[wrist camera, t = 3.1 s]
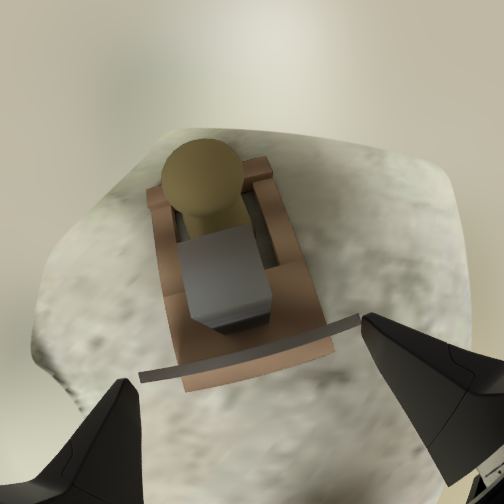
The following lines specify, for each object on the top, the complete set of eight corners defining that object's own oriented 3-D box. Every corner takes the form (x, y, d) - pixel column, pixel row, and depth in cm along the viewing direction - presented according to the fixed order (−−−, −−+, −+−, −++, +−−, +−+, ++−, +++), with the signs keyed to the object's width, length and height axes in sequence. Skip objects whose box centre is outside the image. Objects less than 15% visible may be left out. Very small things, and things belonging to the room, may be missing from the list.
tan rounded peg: (206, 202, 27) (177, 119, 16) (264, 219, 26) (263, 133, 15) (180, 257, 25) (129, 190, 14) (242, 278, 24) (224, 216, 13)
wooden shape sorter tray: (331, 351, 20) (391, 345, 10) (189, 390, 20) (124, 415, 9) (266, 169, 27) (265, 79, 17) (153, 201, 26) (106, 124, 16)
